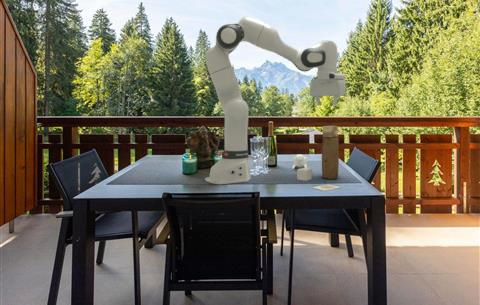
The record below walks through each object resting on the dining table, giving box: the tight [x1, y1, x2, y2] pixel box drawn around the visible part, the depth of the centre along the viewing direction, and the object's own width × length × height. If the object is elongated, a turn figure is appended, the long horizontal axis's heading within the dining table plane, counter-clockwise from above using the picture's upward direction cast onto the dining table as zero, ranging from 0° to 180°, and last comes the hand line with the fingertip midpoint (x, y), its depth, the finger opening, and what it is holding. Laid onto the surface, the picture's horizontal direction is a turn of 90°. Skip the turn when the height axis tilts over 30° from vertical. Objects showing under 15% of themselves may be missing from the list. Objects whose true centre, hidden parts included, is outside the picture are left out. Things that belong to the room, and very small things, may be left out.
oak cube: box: [322, 125, 339, 138], centre depth 181 cm, size 5×5×5 cm
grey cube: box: [296, 167, 313, 182], centre depth 180 cm, size 5×5×5 cm
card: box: [312, 183, 342, 192], centre depth 162 cm, size 10×7×1 cm
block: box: [321, 137, 340, 180], centre depth 183 cm, size 11×8×20 cm
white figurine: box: [291, 154, 309, 170], centre depth 208 cm, size 9×8×15 cm
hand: (326, 105), depth 181 cm, fingers open, 8 cm apart
